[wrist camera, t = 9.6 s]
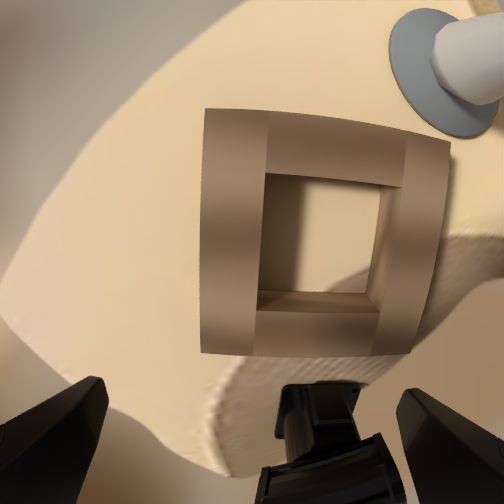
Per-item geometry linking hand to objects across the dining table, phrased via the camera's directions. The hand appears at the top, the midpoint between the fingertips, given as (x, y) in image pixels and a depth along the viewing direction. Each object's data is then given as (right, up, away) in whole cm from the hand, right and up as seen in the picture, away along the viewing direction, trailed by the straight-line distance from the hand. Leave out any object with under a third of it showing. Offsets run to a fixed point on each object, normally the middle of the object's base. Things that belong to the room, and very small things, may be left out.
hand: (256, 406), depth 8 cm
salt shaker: (+14, +17, +8) cm, 23 cm away
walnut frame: (+4, +5, +11) cm, 13 cm away
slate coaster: (+14, +17, +8) cm, 23 cm away
